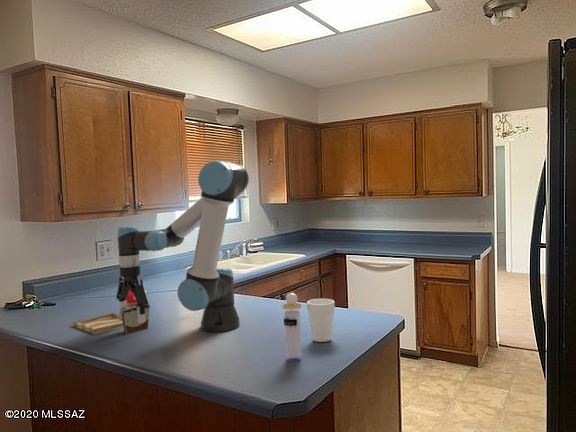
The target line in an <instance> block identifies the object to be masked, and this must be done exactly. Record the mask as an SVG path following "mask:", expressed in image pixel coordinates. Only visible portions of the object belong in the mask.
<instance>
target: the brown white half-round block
mask: <svg viewBox="0 0 576 432" xmlns="http://www.w3.org/2000/svg"><path fill="white" fill-rule="evenodd" d="M137 305H138V304H137V303H136V304H129V305H126V306H123V307H121V309H120V308H119V315H122V320H123V332H124V335H125V336H128V335H132V334H133V335H134V334H136V333H139V332H143V331H146V330H149V323H150V322H149V319H150V318H149V317H150V315H149V314H150V309H151V304H150V303H149V302H148V304H146V305H145V322H143V323H138V316H137Z"/></svg>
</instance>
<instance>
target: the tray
mask: <svg viewBox="0 0 576 432" xmlns="http://www.w3.org/2000/svg"><path fill="white" fill-rule="evenodd" d="M72 323H73V327H75V328H77V329H80V330H82V331H85V332H88V333H90V334H93V335H99V334H103V333H106V332H110V331H115V330H119V329H122V328H123V329H124V327H123V320H122V318H121V317H120V314H117V313H114V312H112V313H111V312H110V313H107V314H103V315H98V316H94V317H90V318H84V319H81V320H75V321H72Z"/></svg>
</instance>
